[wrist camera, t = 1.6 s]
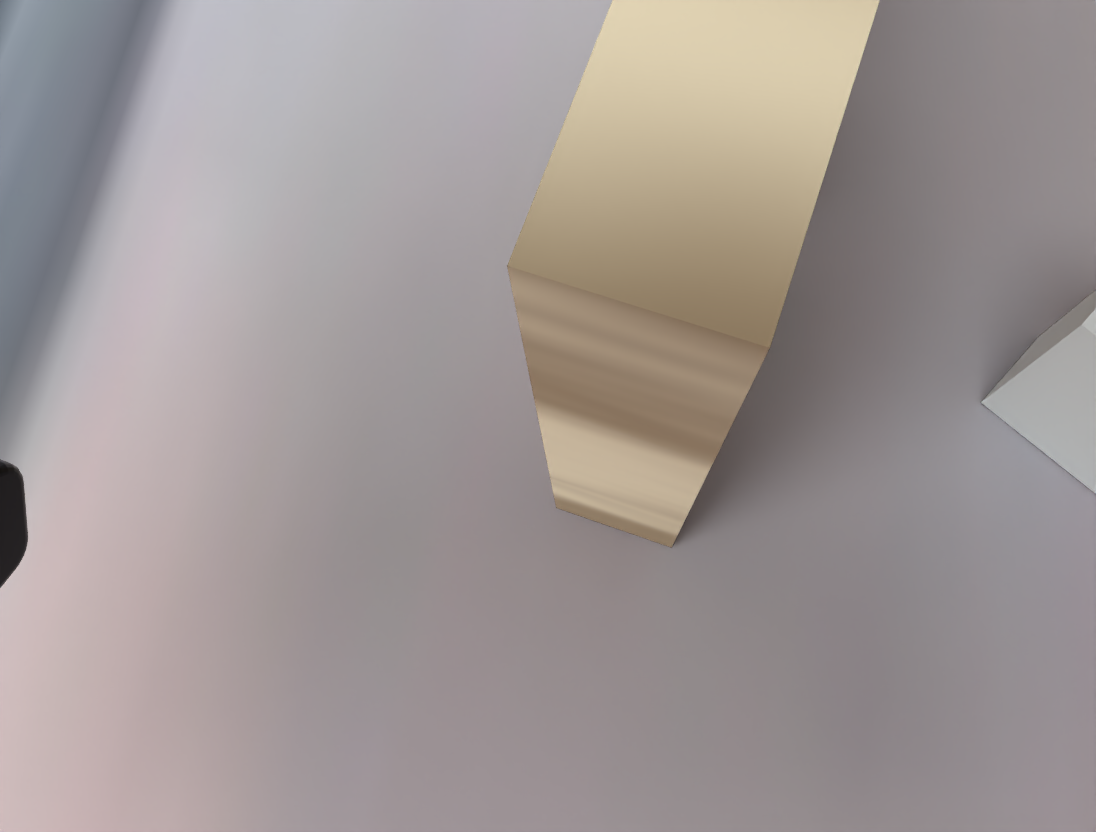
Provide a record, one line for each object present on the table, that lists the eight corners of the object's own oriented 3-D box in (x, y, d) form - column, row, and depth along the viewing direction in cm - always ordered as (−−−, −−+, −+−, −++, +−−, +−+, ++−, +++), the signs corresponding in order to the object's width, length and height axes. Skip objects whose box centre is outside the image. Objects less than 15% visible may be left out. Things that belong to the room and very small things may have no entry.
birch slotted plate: (671, 547, 20) (770, 348, 9) (556, 507, 21) (507, 266, 9) (822, 81, 23) (1047, -531, 12) (719, 53, 24) (838, -569, 12)
